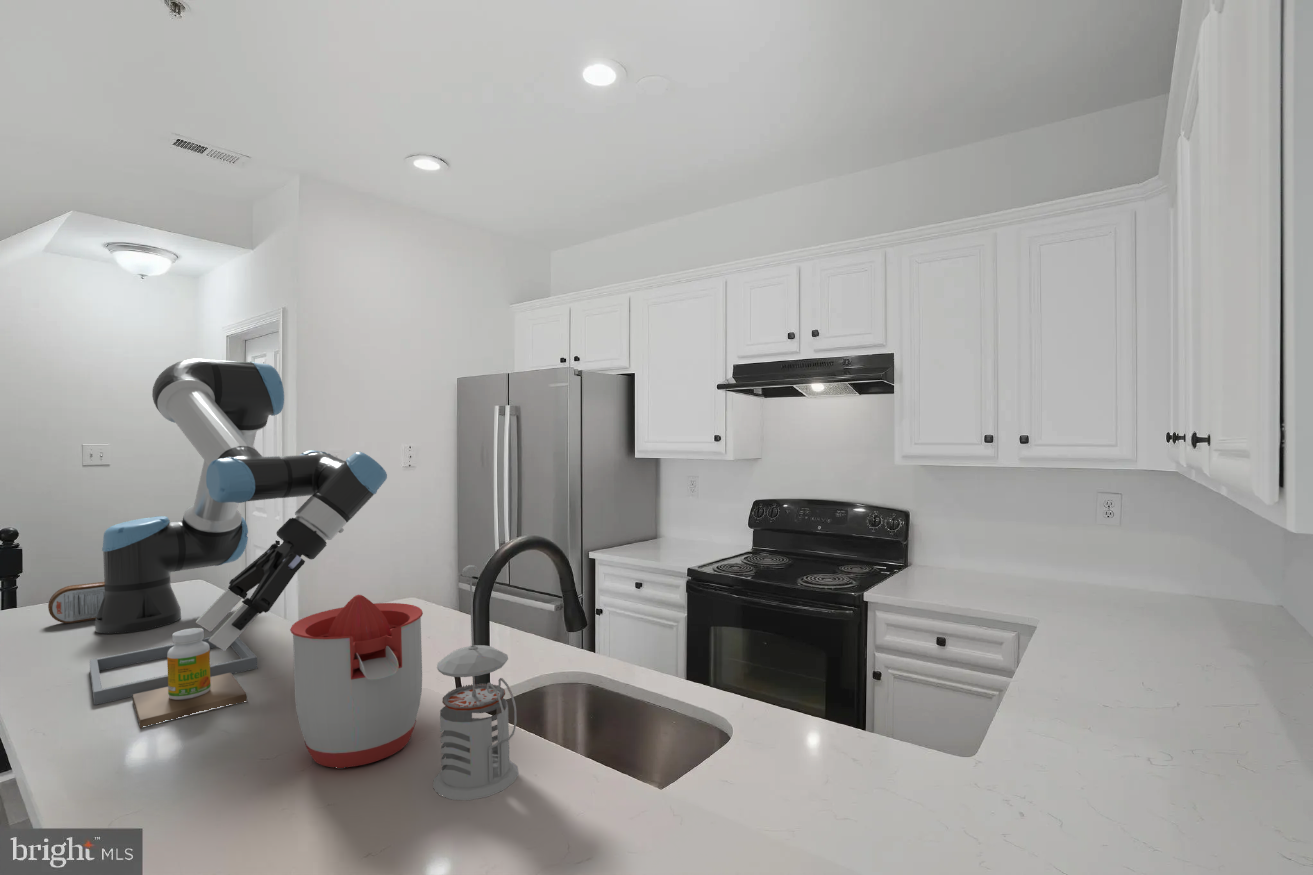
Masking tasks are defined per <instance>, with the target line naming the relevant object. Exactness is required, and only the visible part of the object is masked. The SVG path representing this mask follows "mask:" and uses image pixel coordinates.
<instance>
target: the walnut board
mask: <svg viewBox="0 0 1313 875" xmlns="http://www.w3.org/2000/svg"><path fill="white" fill-rule="evenodd" d="M210 682H211V688H210V690H209V691H208V692H207V693H205V694H203V695H201V696H198V697H194V698H191V699H184V700H173V699H170V698H169V695H168V687H164V688H159V689H155V690H151V691H146V692H142V693H137V694H133V696H132V703H133V708H134V711H135V714H137V715H136V717H137V722H138V721H139V722H138V725H139V724H140V725H139V728H140V729H143V728H142V727H143V726H148V725H151V724H156V723H159V722H163V721H165V720H171V719H176V718H178V717H182V716H184V715H190V714H192V713H196V712H199V711H204V710H209V709H211V708H217V707H220V706H226V705H229V704H235V705H237V704H236V703H239V704H242V702H243V703H245V702H244V701H247V702H248V694H247V692H246V690H245V689H244V688H243V687H242V686H241V684H240V683H239V681H238V680H237V679H236V678H235V676H234V674H231V673H226V674H222V675H217V676H213V677H210ZM176 720H177V719H176ZM156 725H157V724H156ZM148 727H149V726H148Z"/></svg>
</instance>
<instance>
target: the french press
mask: <svg viewBox="0 0 1313 875" xmlns="http://www.w3.org/2000/svg"><path fill="white" fill-rule="evenodd" d="M479 575H480V570H479V568H478V566H476V565H472V564H469V565H467V566H465V567H464V568H463V569H462V577H466V578H467V577H468V578H469V597H470V600H469V602H470V603H469V604H470V631H471V632H470V633H471V634H470V635H471V636H470V637H471V641H470V642H471V645H468V646H464V647H459V648H458V649H456V650H453V651H451V652H450V653H449V654H447V655H446V656H444V657H443V658H442V659H441V660H440V661H438V662H437V664H436V669H437V671H438V672H439V673H440V674H441V675H444V676H447V677H452V678H469V677H472V683H471V684H466V685H463V686H460V687H455V688H454V689H451V690H450V691H448V692H447V693H446V694H445V695H443V697H442V704H443V705H444V706H443V707H442V708H441V709H440V711H439V712H440V713H439V720H440V722H439V724H440V728H439V729H440V733H441V735H440V744H442V745H440V746H441V747H440V755H441V758H440V762H441V764H440V765H441V770H440V771H439V773H438V774H437V775H436V776H435V778H434V779H433V781H434V782H433V781H432V782H433V783H434V784H433V783H432V789H433V788H434V789H435V790H436V791H435V790H434V789H433V790H434V791H435V793H436V792H438V794H440V795H441V796H440V797H442V795H443V798H445V797H446V798H445V799H449V800H453V801H454V800H455V801H471V800H478V799H482V798H487V797H490V796H493V795H495V794H497V793H501V792H503V791H504V790H506V789H508V787H510V786H511V785H513V783H515V781H516V780H517V778H518V776H519V768H518V765H516V764H515V763H514V762H513V761H511V760H510V740H511V738H512V737H513V736H514V735H515V732H516V728H517V727H516V726H517V722H518V721H517V716H518V715H517V706H516V705H517V704H516V701H515V698H514V694H513V691H512V690H511V688H510V686H509V684H508V682H507V681H505V679H504V678H503V677H500V678H499V679H498V685H497V684H494V683H491V682H487V683H486V682H485V683H479V684H478V683H477V684H476V676H478V677H479V676H482V675H487V674H490V673H493V672H496V671H497V670H501V669H502V667H504V665H505V664H506V663H507V662H508V660H509V655H508V654H507V653H505V652H503V651H501V650H499V649H497V648H495V647H493V646H489V645H481V644H479V645H478V644H477V645H476V644H475V642H474V614H473V610H474V608H473V607H474V606H473V605H474V604H473V580H472V578H473V577H475V576H479ZM501 682H502V683H503V684H504V686H505V687H506V689H507V691H508V692H509V695H510V697H511V701H512V705H513V709H514V713H513V714H514V716H513V717H514V719H513V720H514V721H513V729H512V732H511V734H510V732H509V730H510V729H509V728H510V726H509V703H508V701H507V699H505V698H504V697H505V695H506V690H505V689H504V688H503V687H501V686H502V683H501ZM504 708H505V709H504ZM497 709H501V711H500V712H499V713H496V714H494V715H492V716H487V717H482V718H477V717H473V714H484V713H490V712H492V711H495V710H497ZM496 720H497V721H496ZM494 721H496V724H494V725H492V724H493V723H492V722H494ZM495 731H497V734H495V735H493V732H495ZM496 741H497V742H496ZM495 742H496V743H495ZM493 743H495V744H493ZM438 794H437V795H438Z"/></svg>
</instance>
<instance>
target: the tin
mask: <svg viewBox="0 0 1313 875" xmlns="http://www.w3.org/2000/svg"><path fill="white" fill-rule="evenodd" d="M104 594H105V584H104V581H98V582H92V583H81V584H72V585H67V586H64V587H62V588H60V589H58V590H57V591H55V592H54V593H53V595H52V596H51V597H50V598H49V601H48V604H47V607H48V613H49V614H50V617H52V619H54V621H57V622H58V623H61V624H62V623H63V624H75V623H81V622H87V621H95V620H96V617H97V614H98V611H99V609H100V606H101V603H102V600H103V598H104Z"/></svg>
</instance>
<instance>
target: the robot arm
mask: <svg viewBox="0 0 1313 875" xmlns="http://www.w3.org/2000/svg"><path fill="white" fill-rule="evenodd" d="M151 391H152V394H151V395H152V400H153V404H154V406H155V408H156V410H158V412H159V413H160V415H161V416H162V417H163V418H164V419H165V420H167V421H170V422H171V423H175V424H176V425H177V427H178V428H179V429H180V431H181V432H182V433H183V435H184V436H185V437H186V439H188V441H189V442H190V443H191V445H192V446H193V447H194V449H195V450H196V451H197V452H198V454H199V455H200V457H201V458H202V459H203V464H202V469H201V473H200V477H199V481H198V486H197V491H196V495H195V500H194V503H193V504H192V505H191V506H189V507H187V508H186V510H185V511H184V513H183V518H182V519H181V520H174V521H170V519H169V517H168V516H167V515H166V516H165V515H163V516H162V515H160V516H159V515H158V516H152V517H144V518H137V519H132V520H129V521H128V520H127V521H123V522H121V523H116V524H114V525H111V526H109V527H108V528H106V530H105V531H104V533H103V539H102V540H103V541H102V548H101V549H102V550H101V551H102V554H103V582H104V584H105V594H104V598H103V600H102V603H101V606H100V609H99V611H98V614H97V617H96V620H94V632H96V633H99V634H124V633H134V632H138V631H145V630H151V629H155V628H159V627H160V628H161V627H163V626H166V625H169V624H173V623H175V622H177V621H179V620H180V619H182V608H181V606H180V604H179V601H178V598H177V596H176V595H175V592H174V590H173V588H172V585H171V573H174V572H180V571H188V570H194V569H201V568H207V567H213V566H214V567H217V566H222V565H224V564H229V563H233V562H235V561H237V560H238V559H240V558H241V557H242V556H243V554H244V553H245V550H246V548H247V545H248V540H249V537H248V534H249V528H248V524H247V522H246V520H245V518H244V517H243V516H242V514H241V512H240V511H239V510H238V507H239V504H241V503H247V502H254V501H263V500H264V501H265V500H275V499H286V498H287V499H288V498H299V497H309V498H308V499H307V500H305V502H304V503H303V504H302V505H301V506H299V508H297V510H296V511H295V512H294V515H295V517H290V518H288V520H286V522H285V523H284V524H283V525H281V527H279V529H278V530H277V531H276V536H277V537H278V538H279V539H280V540H282V541H283V542H282V543H281V544H279V545H278V543H275V542H274V543H272V544H271V545H270V546H269V547H268V548H267V549H266V551H265V552H263V553H262V554H260V556H258V557H257V558H255V559H254V560H253V561H252V562H251V563H250V564H249V565H248V566H247V567H245V568H244V569H243V570H242V571H241V572H240V573H238V574H237V575H236V576H235V577H233V578H232V579H230V581H229V585H228V587H227V589H226V590H225V591H224V592H223V593H222V594H221V595H220V596H219V597H218V598H217V599H216V600H215V601H214V602H213V603H212V604H211V605H210V606H209V608H207V610H206V611H204V612H203V613H202V615H201V616H200V617H198V618H197V620H196V621H195V623H196V624H197V625H199V626H201V627H203V629H205V630H207V631H208V632H212V631H213V629H215V628H216V627H217V625H218V624H219V623H221V621H222V620H223V619H224V618H225V617H226V616H227V615H228V614H230V612H231V611H232V610H233V608H235V607H236V606H237V605H238V604H239V603H240V601H241V605H240V606H239V607H238V608H237V609H236V611H235V612H233V613H232V615H231V616H230V617H229V618H228V619H227V620H226V621H225V622H224V623H223V624H222V625H221V626H220V627H219V628H218V629H217V630H216V631H215V632H214V633H213V634H212V636H210V637H211V638H210V639H209V642H211V643H213V644H214V645H216V646H218V647H217V648H219V649H221V650H222V651H224V652H225V651H226V650H227V649H228V648H229V647H231V646H230V645H231V644H232V643H233V642H234V640H235V639H236V638H237V637H240V635H241V634H242V633H243V632H244V631H245V630H246V629H247V628H248V626H250V625H251V624H252V622H253V621H254V620H256V618H257V617H258V616H259V615H260V614H262V613H266V614H267V613H269V611H270V610H271V609H272V607H273V606H274V604H275V603H276V602H277V600H278V598H280V596H281V594H282V593H283V592H284V590H285V589H286V587H287V586H288V584H290V582H291V580H292V579H293V578H294V576H295V575H296V573H297V572H298V571H299V570H300V569H301V568H302V566H303V565H304V564H305V563H306V560H304V559H303V558H302V556H304V558H307V559H309V560H314V559H315V558H317V556H319V554H320V553H321V552H322V551H323V550H324V549H325V548H326V547H327V542H326V541H327V540H328V541H331V540H333V539H334V538H335V536H336V535H337V534H338V533H339V534H341V533H343V532H344V531H345V530H344V527H345V526H346V525H347V523H348V522H349V521H350V520H352V518H354V517H355V515H356V514H358V512H359V511H360V510H361V509H362V508H363V507H364V506H365V505H366V504H367V503H368V502H369V501H370V499H371V498H373V496H374V495H376V494H377V493H378V490H379V489H380V488H381V486H382V485H383V484H385V482H386V480H387V479H388V473H387V471H386V470H385V468H384V467H383V466H382V465H381V464H380V463H379V462H378V461H376V460H375V459H374V458H372V457H371V456H370V455H368V454H366V453H365V452H363V451H357V452H353V453H352V454H351V455H350V456H349V457H347V458H346V460H343V459H341V458H338V457H336V456H334V455H332V454H331V453H327V452H326V451H322V450H321V451H319V450H315V449H314V450H306V451H305V452H302V453H300V454H298V455H278V456H277V455H276V456H263V455H262V454H261V453H260V452H259V451H258V450H257V449H256V448H255V447H254V443H255V441H256V435H257V432H258V431H260V430H262V429H264V428H266V426H267V423H268V420H269V418H270V417H269V416H272V417H274V416H278V415H279V414H281V412H282V411H283V409H284V406H285V390H284V385H283V381H282V377H281V376H280V374H279V372H278V371H277V369H275V367H274V366H272V365H271V364H269V363H262V362H255V361H238V360H237V361H235V360H223V359H221V360H219V359H206V358H190V359H189V358H188V359H184V360H180V361H178V362H175V363H173V364H172V365H169V366H168V367H166V368H164V370H163V371H162V372H161V373H160V374H159V375H158V376H157V378H156V379H155V382H154V383H153V387H152V390H151ZM255 587H256V588H255ZM254 588H255V590H254V591H253V593H252V594H251V596H250V598H249V597H248V592H249V591H251V590H252V589H254ZM242 599H243V600H242Z"/></svg>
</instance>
